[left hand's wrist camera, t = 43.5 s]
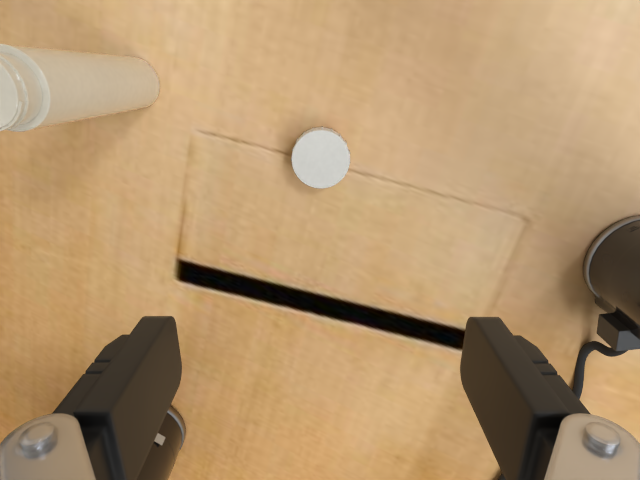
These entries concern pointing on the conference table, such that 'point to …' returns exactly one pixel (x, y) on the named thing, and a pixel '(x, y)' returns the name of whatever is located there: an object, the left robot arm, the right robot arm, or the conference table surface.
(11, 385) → the conference table surface
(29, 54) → the white bottle
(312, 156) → the lid
